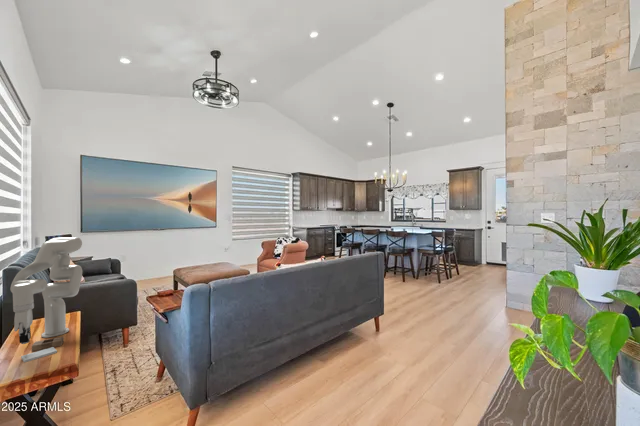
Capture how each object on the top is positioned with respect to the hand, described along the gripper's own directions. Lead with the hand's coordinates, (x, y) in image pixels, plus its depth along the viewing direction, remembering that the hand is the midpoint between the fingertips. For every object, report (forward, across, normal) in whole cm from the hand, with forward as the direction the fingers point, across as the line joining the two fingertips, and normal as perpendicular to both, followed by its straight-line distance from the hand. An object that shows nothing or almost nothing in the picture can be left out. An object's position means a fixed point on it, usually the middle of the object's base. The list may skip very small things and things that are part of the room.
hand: (25, 340), depth 151 cm
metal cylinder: (+1, 0, 0) cm, 1 cm away
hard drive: (+8, +5, +6) cm, 12 cm away
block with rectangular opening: (+8, -6, +8) cm, 12 cm away
